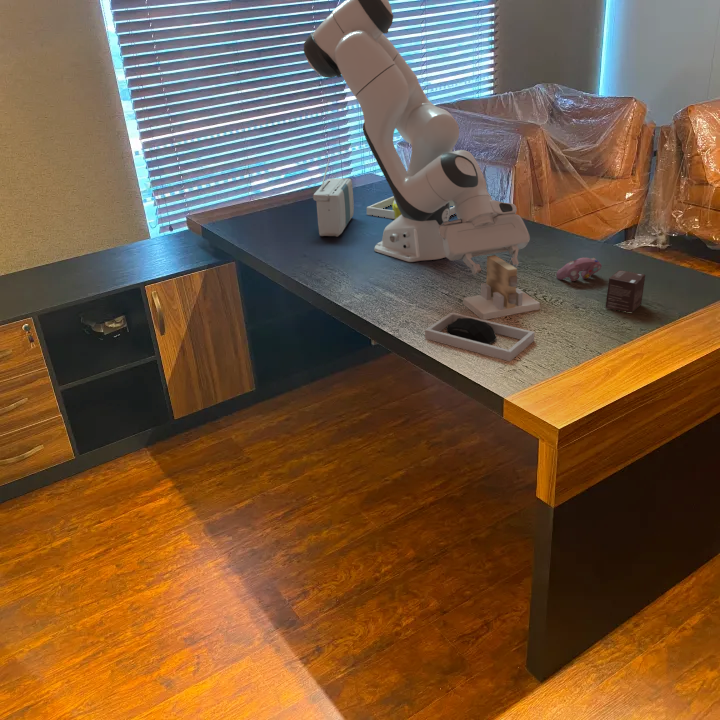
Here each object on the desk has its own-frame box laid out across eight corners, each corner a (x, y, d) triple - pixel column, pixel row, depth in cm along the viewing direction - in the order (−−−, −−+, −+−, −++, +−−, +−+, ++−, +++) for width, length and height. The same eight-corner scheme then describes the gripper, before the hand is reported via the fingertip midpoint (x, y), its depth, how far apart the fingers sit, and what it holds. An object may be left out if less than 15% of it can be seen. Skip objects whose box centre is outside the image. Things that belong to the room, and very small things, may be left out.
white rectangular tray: (366, 214, 233) (366, 207, 232) (402, 199, 247) (402, 192, 246) (432, 225, 219) (432, 217, 217) (466, 208, 233) (466, 201, 232)
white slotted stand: (463, 303, 164) (463, 285, 162) (517, 293, 167) (517, 275, 165) (483, 320, 155) (483, 301, 153) (539, 309, 159) (540, 290, 157)
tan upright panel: (486, 293, 165) (487, 256, 161) (493, 291, 165) (495, 255, 161) (509, 310, 155) (511, 272, 151) (517, 309, 156) (519, 270, 152)
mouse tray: (425, 338, 149) (424, 329, 148) (451, 320, 156) (451, 312, 155) (509, 361, 138) (510, 352, 137) (533, 340, 145) (534, 332, 144)
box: (615, 299, 161) (619, 269, 158) (641, 305, 158) (646, 274, 154) (604, 308, 157) (608, 277, 154) (631, 314, 154) (635, 283, 150)
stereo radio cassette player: (342, 238, 213) (337, 171, 203) (315, 238, 214) (310, 171, 205) (355, 218, 231) (351, 155, 221) (330, 218, 232) (325, 156, 223)
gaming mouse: (451, 320, 157) (451, 303, 155) (502, 340, 147) (503, 323, 145) (431, 328, 154) (430, 311, 152) (481, 350, 143) (481, 332, 142)
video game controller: (561, 289, 172) (570, 268, 167) (553, 275, 175) (562, 255, 169) (597, 282, 175) (607, 262, 169) (588, 269, 177) (598, 249, 172)
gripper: (440, 215, 158) (458, 271, 154) (521, 203, 163) (541, 256, 160) (432, 229, 164) (450, 283, 160) (511, 217, 169) (530, 268, 166)
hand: (496, 269), depth 160 cm, fingers open, 8 cm apart
